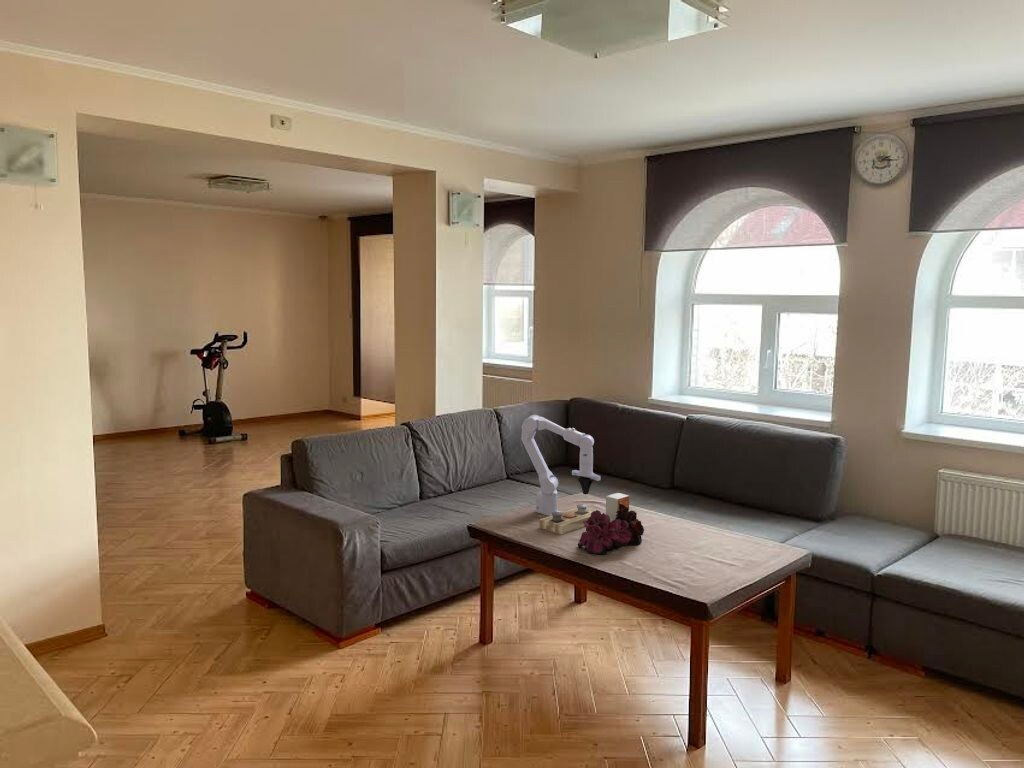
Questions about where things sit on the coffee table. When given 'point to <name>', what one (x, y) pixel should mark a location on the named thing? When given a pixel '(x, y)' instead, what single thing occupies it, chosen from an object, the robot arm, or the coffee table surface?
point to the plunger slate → (581, 509)
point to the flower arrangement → (611, 531)
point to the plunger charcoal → (557, 517)
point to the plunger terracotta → (569, 515)
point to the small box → (615, 504)
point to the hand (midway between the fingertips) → (585, 493)
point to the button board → (565, 522)
